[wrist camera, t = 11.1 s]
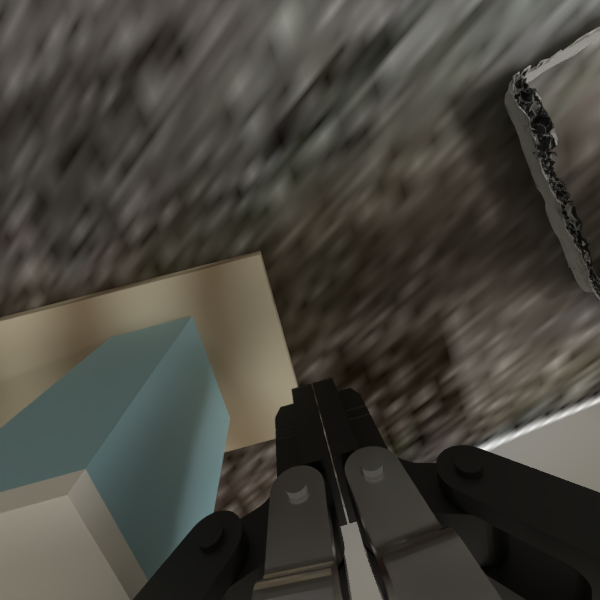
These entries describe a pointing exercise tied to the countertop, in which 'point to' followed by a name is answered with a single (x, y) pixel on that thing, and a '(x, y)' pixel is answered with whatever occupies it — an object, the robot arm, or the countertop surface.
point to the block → (111, 468)
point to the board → (157, 310)
